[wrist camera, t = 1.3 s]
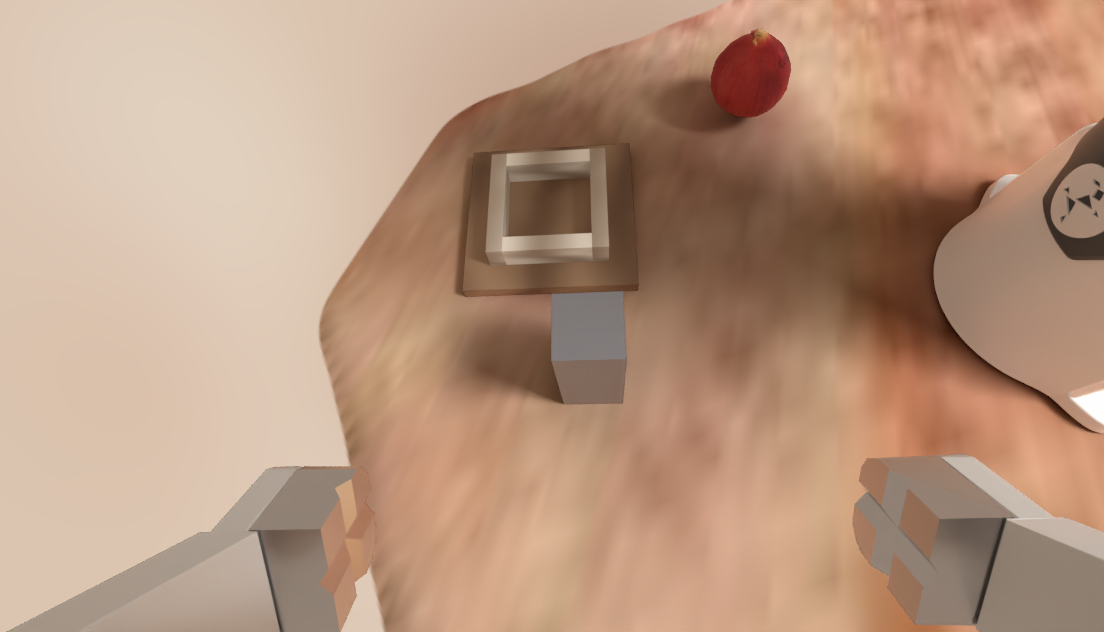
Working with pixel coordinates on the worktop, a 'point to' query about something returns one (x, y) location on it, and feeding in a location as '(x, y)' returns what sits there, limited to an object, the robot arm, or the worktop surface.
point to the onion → (751, 74)
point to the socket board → (551, 222)
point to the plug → (589, 346)
